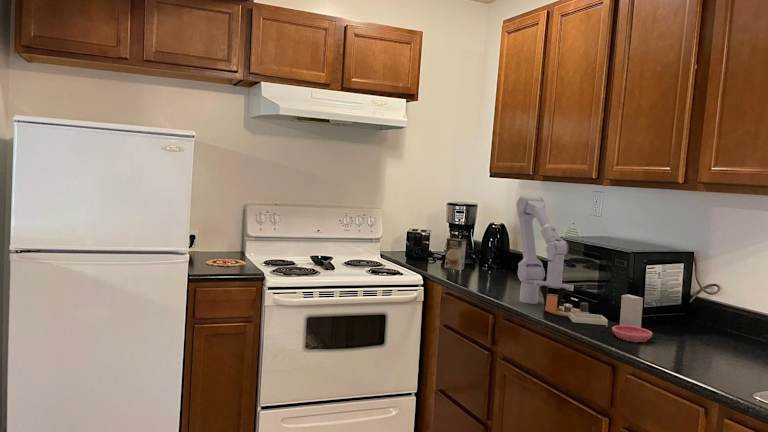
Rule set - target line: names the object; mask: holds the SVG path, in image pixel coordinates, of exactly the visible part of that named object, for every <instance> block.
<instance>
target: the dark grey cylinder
mask: <svg viewBox="0 0 768 432" xmlns="http://www.w3.org/2000/svg"><path fill="white" fill-rule="evenodd" d="M563 307H567V308H573V304H570V303H563V306H562V307H560V306H559V308H558V309H557V310H563ZM577 309H578V308H576V309H572V312H575V313H583V314H587V312H589V311H588V310H589V303H587V302H580V307H579V309H580V310H577Z"/></svg>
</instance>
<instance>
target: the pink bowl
mask: <svg viewBox="0 0 768 432" xmlns="http://www.w3.org/2000/svg"><path fill="white" fill-rule="evenodd" d="M611 330H612V332H613V334H614V335H615V337H616V338H617V337H618V338H617V339H619V338H620V339H619V340H622V339H623V341H625V340H626V342H630V341H631V343H638V342H643V343H646V342H648V340H650V339H651V338H652V337H653V332H652V330H651V331H650V330H648V329H646V328H643V327H641V328H640V327H634V326H626V325H620V324H619V325H614V326H612V328H611Z"/></svg>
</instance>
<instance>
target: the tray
mask: <svg viewBox="0 0 768 432" xmlns="http://www.w3.org/2000/svg"><path fill="white" fill-rule="evenodd" d="M567 317H568V318H569V319H570V321H571V322H572V323H579V324H589V325H600V326H606V328H608V324H609V323H608V322H609V320H608V319H607V318H606V317H605V316H603V315H602V314H594V313H593V314H592V313H590V314H583V313H572V312H569V315H568V316H567Z"/></svg>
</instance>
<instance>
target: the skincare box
mask: <svg viewBox="0 0 768 432" xmlns="http://www.w3.org/2000/svg"><path fill="white" fill-rule="evenodd" d="M620 298H621V301H620V312H619V313H620V316H619V325H626V326H634V327H640V328H642V317H643V306H644V305H643V302H644V297H640V296H638V295H637V296H636V295H632V294H623V295H621V297H620Z"/></svg>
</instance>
